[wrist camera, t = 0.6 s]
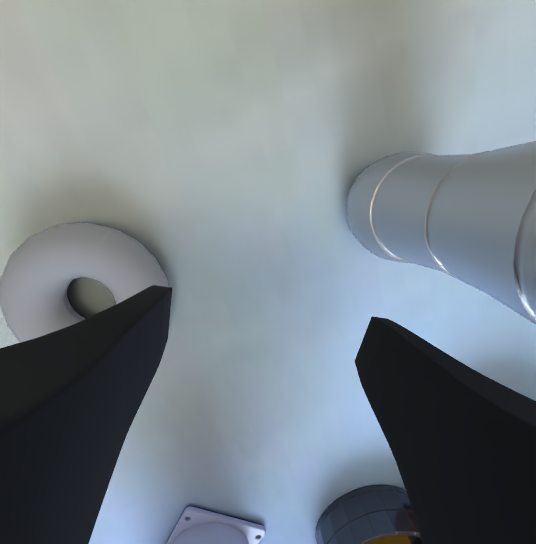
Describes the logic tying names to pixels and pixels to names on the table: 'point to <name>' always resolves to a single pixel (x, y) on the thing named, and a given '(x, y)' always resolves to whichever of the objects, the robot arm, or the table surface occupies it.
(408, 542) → the block
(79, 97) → the table surface
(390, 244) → the silver bottle
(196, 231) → the table surface
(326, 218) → the table surface
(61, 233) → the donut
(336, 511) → the pot
